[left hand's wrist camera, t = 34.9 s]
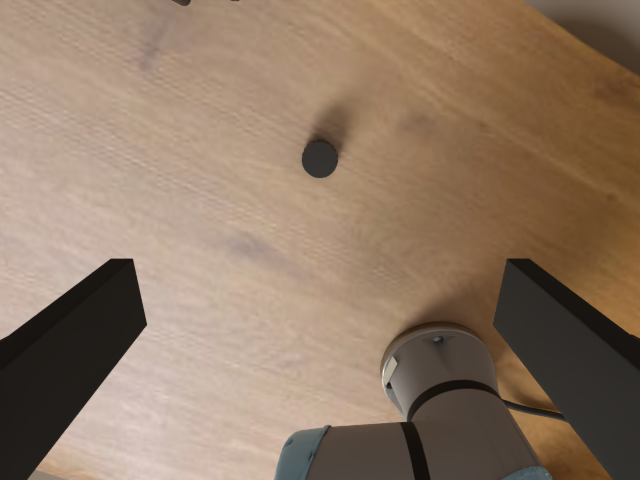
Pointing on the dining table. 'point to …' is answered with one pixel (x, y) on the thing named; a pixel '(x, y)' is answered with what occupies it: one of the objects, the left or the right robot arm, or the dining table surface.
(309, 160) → the cap
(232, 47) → the dining table surface
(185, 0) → the right robot arm
